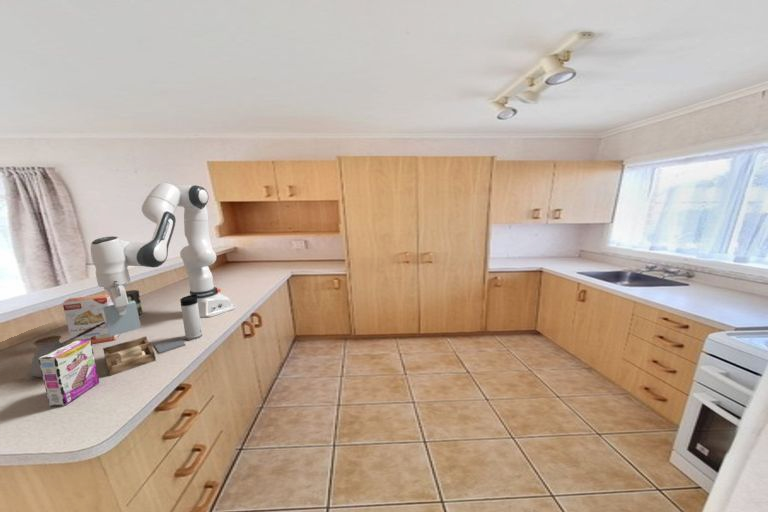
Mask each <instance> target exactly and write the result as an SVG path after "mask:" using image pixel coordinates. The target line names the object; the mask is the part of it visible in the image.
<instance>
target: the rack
mask: <svg viewBox="0 0 768 512" xmlns="http://www.w3.org/2000/svg"><path fill="white" fill-rule="evenodd" d="M135 346H139V347H141V349H142V351H144V352H145V354H146V355H145V356H142V357H139V358H136V359H133V360H130V361H126V362H123V363H120V364H117V362H116V359H119V357H118V352H121V351H124V350H126V349H129V348H132V347H135ZM102 350H103V354H104V360H105V363H106V368H107V370H108V375H109V377H110V376H114V375H116V374H119V373H123V372H125V371H129V370H131V369H134V368H138V367H141V366H143V365H146V364H149V363H153V362H155V361H157V359H156V355H155V350H154V349H153V347H152V345H151V342H149V340H148V338H147V336H142V337H139V338H135V339H131V340H128V341H124V342H121V343H120V342H119V343H117V344H114V345H109V346H106V347H103V348H102Z"/></svg>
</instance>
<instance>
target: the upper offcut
mask: <svg viewBox="0 0 768 512" xmlns="http://www.w3.org/2000/svg"><path fill="white" fill-rule="evenodd" d="M141 355H142V349H141V347H139V346H135V347H132V348H129V349H126V350H124V351H121V352H118V357H119V360H120V361H121V362H124V361H127V360H130V359H132V358H135V357H138V356H141Z"/></svg>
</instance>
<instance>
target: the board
mask: <svg viewBox="0 0 768 512" xmlns="http://www.w3.org/2000/svg"><path fill="white" fill-rule="evenodd" d="M103 310H104V314H105V318H106V322H107V327H108V331H109V334H110V336H114V335H117V334H120V335H121V334H124V333H125V334H126V333H129V332H132V331H135V330H139V329H142V325H141V321H140V317H139V315H138V311H137V306H136V302H135V301H129V302H128V306H127V307H125V312H126V314H125V315H119V312H118V309H116V308H115V306H114V305H110V306H106V307H103Z"/></svg>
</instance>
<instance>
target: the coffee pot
mask: <svg viewBox="0 0 768 512" xmlns="http://www.w3.org/2000/svg"><path fill="white" fill-rule="evenodd" d="M105 323H106V322H103V323H101V324H99V325H96V326H94V327H92V328H89V329H87V330H86V331H84V332H82V333H80V334H78V335H77V336H75V337H73V338H69V339H67V340H65V341H63V342H60V340H61V339H62V336H61V335H58V334H57V335H52V336H51V335H50V336H46V337H42V338H40V339H37V340H35V341H33V342H32V345H35V346H36V349H35V350H36V351H35V352H34V355H33V358H32V361H31V362H30V365H29V368H28V371H27V373H28V374H29V375H31V376H32V377H36V378H37V377H38V378H39V379H40V378H41V379H43V376H42V372H41V367H40V363H39V359H38V358H40V357H42V356H44V355H46V354H49V353H51V352H53V351H55V350H57V349H59V348H62V347H64V346H65V345H67V343H68V344H69V343H71V341H72V340H74V339H75V338H77V337H80V336H82V335H84V334H86V333H88V332H91V331H92V330H94V329H95V328H97V327H100V326H101V325H103V324H105ZM106 324H107V323H106ZM106 324H105V325H106ZM106 326H107V325H106Z"/></svg>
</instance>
